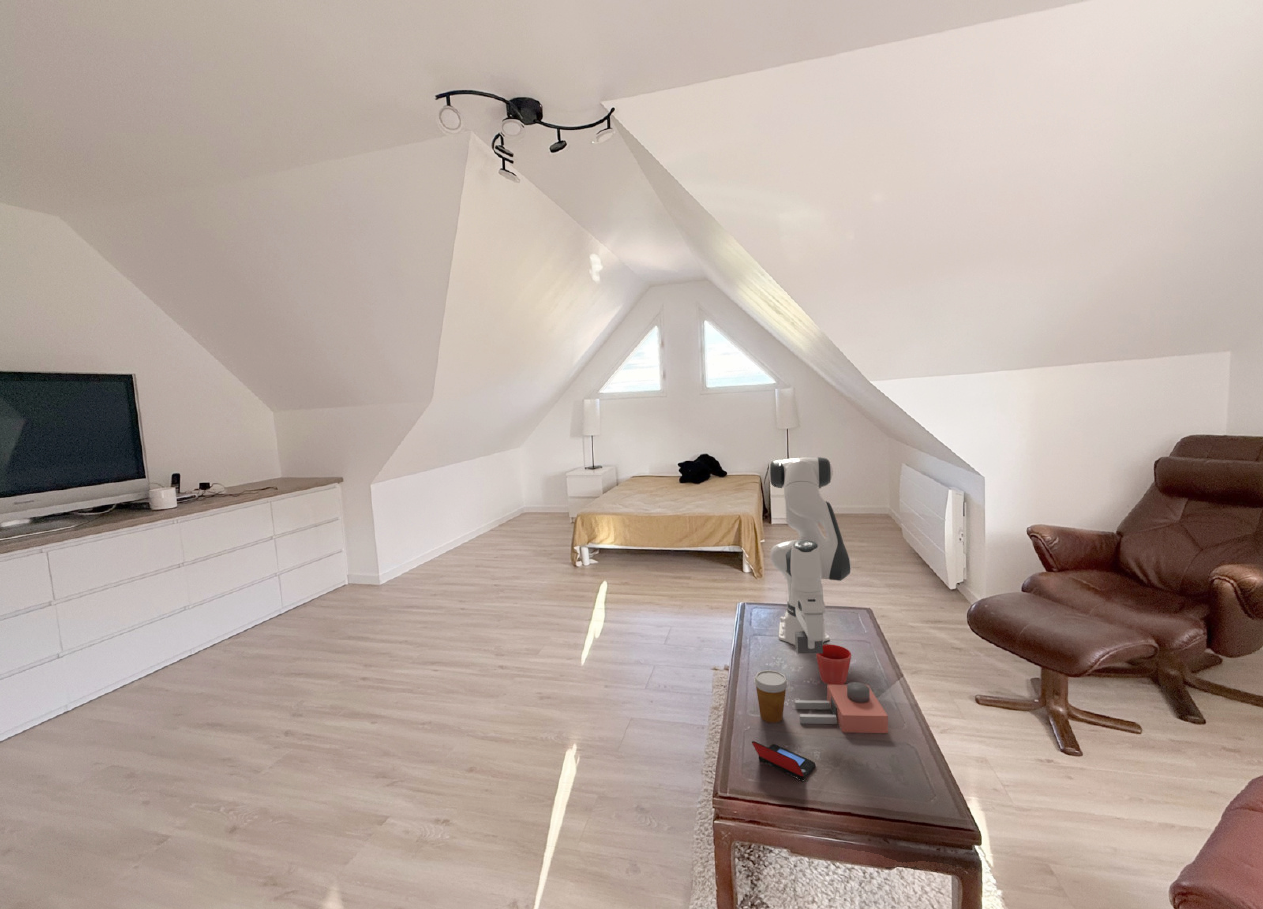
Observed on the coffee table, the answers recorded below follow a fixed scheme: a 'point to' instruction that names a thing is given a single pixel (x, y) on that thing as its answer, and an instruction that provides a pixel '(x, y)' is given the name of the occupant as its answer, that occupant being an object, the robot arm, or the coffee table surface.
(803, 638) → the tall grey rectangular block
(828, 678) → the flower pot
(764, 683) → the disposable coffee cup
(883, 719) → the pink block with rods
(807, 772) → the handheld game console
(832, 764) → the coffee table surface
